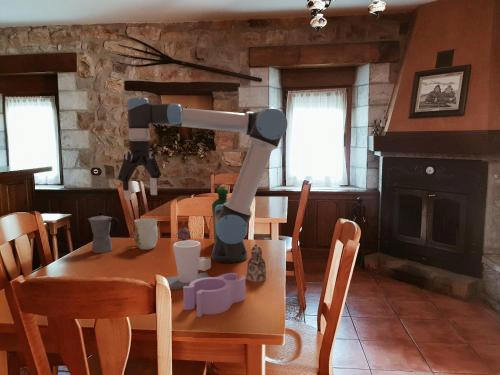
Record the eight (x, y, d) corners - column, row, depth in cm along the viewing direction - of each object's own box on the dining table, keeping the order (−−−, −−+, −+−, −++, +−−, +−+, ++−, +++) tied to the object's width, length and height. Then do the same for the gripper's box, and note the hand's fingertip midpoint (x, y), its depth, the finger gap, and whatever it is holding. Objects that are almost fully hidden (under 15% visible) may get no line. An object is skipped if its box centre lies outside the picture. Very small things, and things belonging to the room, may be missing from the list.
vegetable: (177, 242, 198) (177, 222, 197) (177, 239, 204) (177, 220, 203) (190, 242, 199) (189, 222, 198) (189, 239, 205) (189, 219, 204)
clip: (228, 290, 136) (228, 270, 135) (254, 300, 127) (254, 279, 126) (178, 307, 122) (177, 285, 121) (203, 320, 113) (203, 296, 112)
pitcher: (150, 241, 200) (150, 214, 199) (164, 249, 185) (163, 220, 184) (128, 244, 194) (127, 216, 193) (140, 253, 179) (139, 223, 178)
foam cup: (196, 285, 137) (195, 247, 136) (170, 283, 139) (169, 246, 137) (204, 275, 146) (203, 240, 145) (180, 274, 148) (179, 239, 147)
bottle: (209, 241, 201) (209, 185, 197) (230, 239, 204) (230, 184, 201) (215, 246, 191) (214, 187, 187) (236, 244, 194) (236, 186, 191)
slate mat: (206, 275, 150) (206, 272, 150) (213, 284, 141) (213, 281, 141) (163, 280, 145) (163, 278, 144) (167, 290, 135) (167, 287, 135)
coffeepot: (83, 252, 181) (81, 213, 179) (95, 247, 191) (93, 209, 189) (114, 254, 178) (112, 214, 176) (125, 248, 188) (123, 210, 185)
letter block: (202, 266, 161) (202, 256, 160) (210, 268, 159) (210, 258, 158) (196, 269, 157) (196, 259, 157) (204, 271, 155) (204, 260, 155)
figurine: (245, 281, 143) (245, 248, 142) (247, 274, 150) (247, 243, 149) (266, 281, 143) (266, 248, 142) (266, 275, 150) (266, 243, 149)
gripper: (154, 140, 162) (156, 192, 165) (105, 140, 141) (108, 200, 143) (169, 140, 159) (170, 193, 161) (121, 140, 137) (123, 202, 140)
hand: (141, 197), depth 152 cm, fingers open, 13 cm apart
